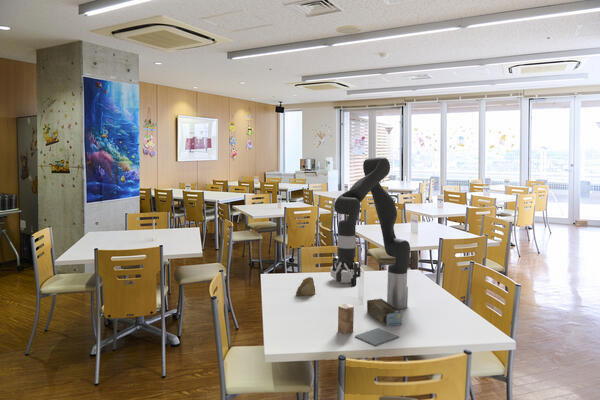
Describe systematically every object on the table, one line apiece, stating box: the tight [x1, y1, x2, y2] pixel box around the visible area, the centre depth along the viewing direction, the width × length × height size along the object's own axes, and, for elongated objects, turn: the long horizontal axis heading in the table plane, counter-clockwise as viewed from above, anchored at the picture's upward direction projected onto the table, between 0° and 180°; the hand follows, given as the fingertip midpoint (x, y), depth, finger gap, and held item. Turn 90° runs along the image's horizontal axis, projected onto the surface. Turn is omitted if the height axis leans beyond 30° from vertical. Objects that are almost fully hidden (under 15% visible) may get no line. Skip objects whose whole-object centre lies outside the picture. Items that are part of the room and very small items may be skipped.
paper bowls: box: [330, 265, 354, 284], centre depth 266 cm, size 15×15×8 cm
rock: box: [295, 276, 316, 297], centre depth 240 cm, size 11×9×10 cm
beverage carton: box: [366, 298, 403, 327], centre depth 206 cm, size 8×19×7 cm, turn 18°
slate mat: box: [354, 327, 400, 347], centre depth 185 cm, size 14×11×1 cm
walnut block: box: [337, 303, 355, 335], centre depth 190 cm, size 4×4×11 cm
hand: (345, 284), depth 188 cm, fingers open, 8 cm apart
